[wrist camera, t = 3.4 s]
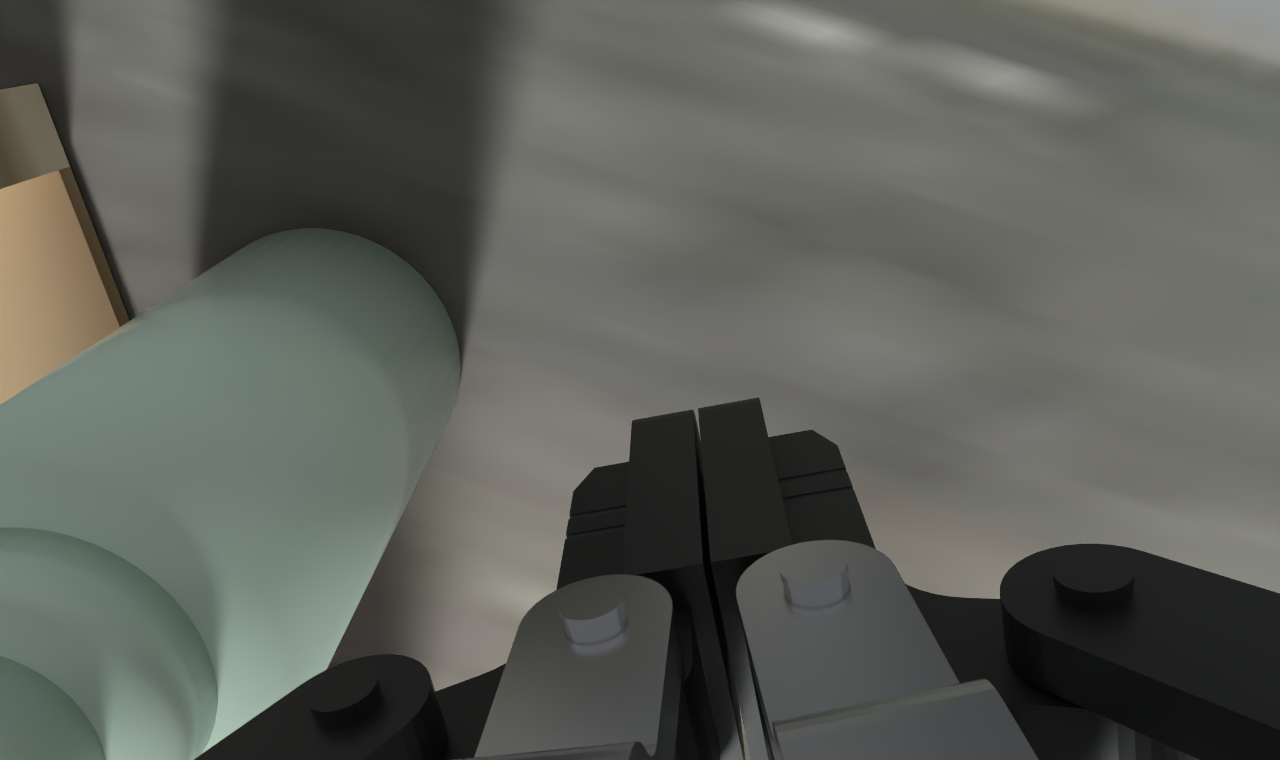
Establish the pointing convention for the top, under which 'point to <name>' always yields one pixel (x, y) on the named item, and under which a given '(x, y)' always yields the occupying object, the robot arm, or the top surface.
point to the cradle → (45, 251)
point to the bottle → (211, 496)
